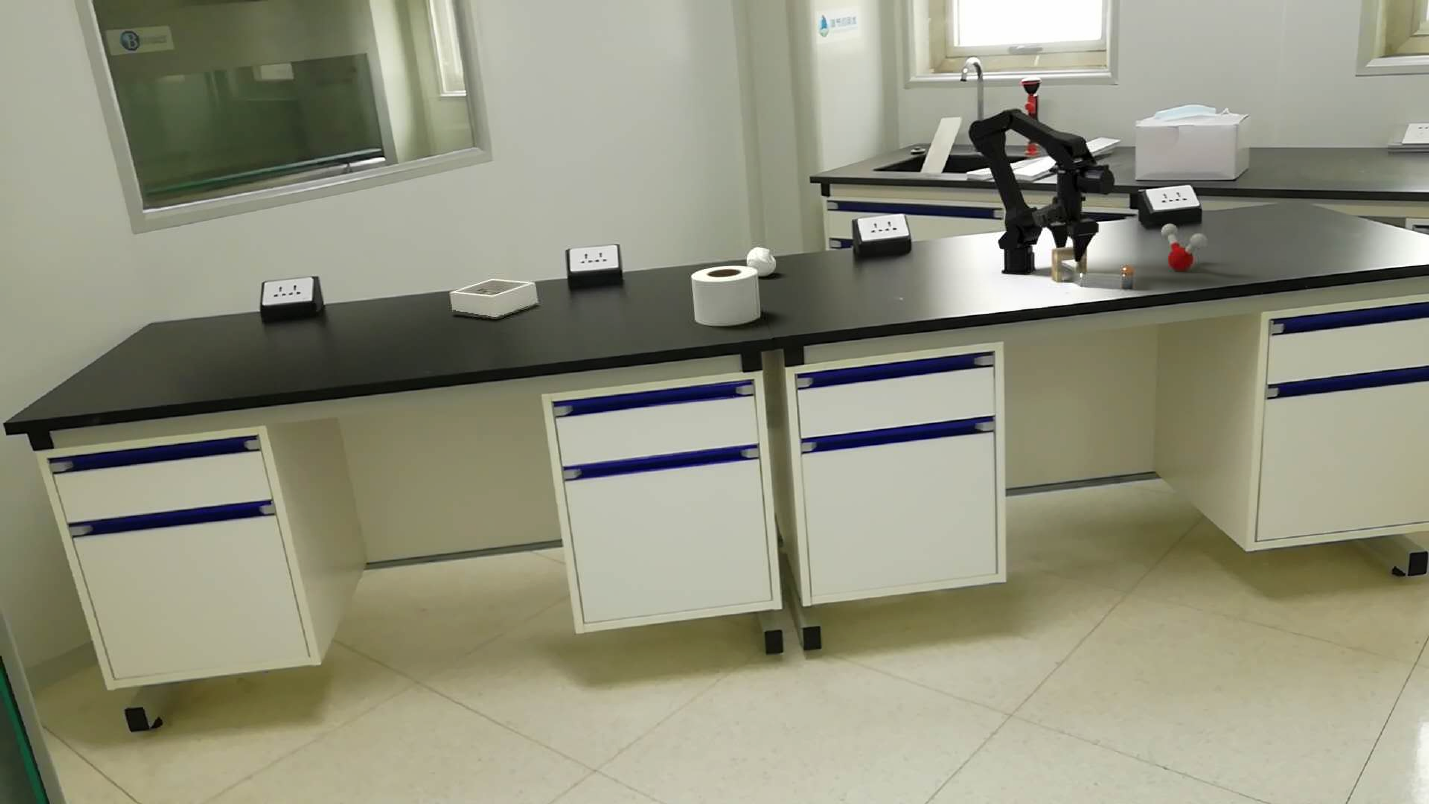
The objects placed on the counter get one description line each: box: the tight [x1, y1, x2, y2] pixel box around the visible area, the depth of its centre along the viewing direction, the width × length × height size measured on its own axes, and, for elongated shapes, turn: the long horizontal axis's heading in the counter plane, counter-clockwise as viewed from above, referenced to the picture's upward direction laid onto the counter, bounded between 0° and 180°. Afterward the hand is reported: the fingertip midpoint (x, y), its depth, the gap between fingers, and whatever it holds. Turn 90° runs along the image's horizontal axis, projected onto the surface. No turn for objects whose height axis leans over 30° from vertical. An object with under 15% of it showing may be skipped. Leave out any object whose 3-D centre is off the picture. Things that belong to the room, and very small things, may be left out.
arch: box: [1051, 245, 1088, 283], centre depth 276 cm, size 3×7×8 cm, turn 99°
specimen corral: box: [449, 278, 539, 317], centre depth 300 cm, size 16×15×6 cm
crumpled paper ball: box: [746, 247, 777, 277], centre depth 309 cm, size 8×8×8 cm
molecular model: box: [1160, 223, 1208, 272], centre depth 274 cm, size 18×6×10 cm, turn 6°
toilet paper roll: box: [690, 265, 761, 327], centre depth 271 cm, size 16×15×11 cm
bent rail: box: [1062, 261, 1135, 290], centre depth 271 cm, size 23×6×5 cm, turn 29°
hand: (1068, 257), depth 276 cm, fingers open, 9 cm apart
